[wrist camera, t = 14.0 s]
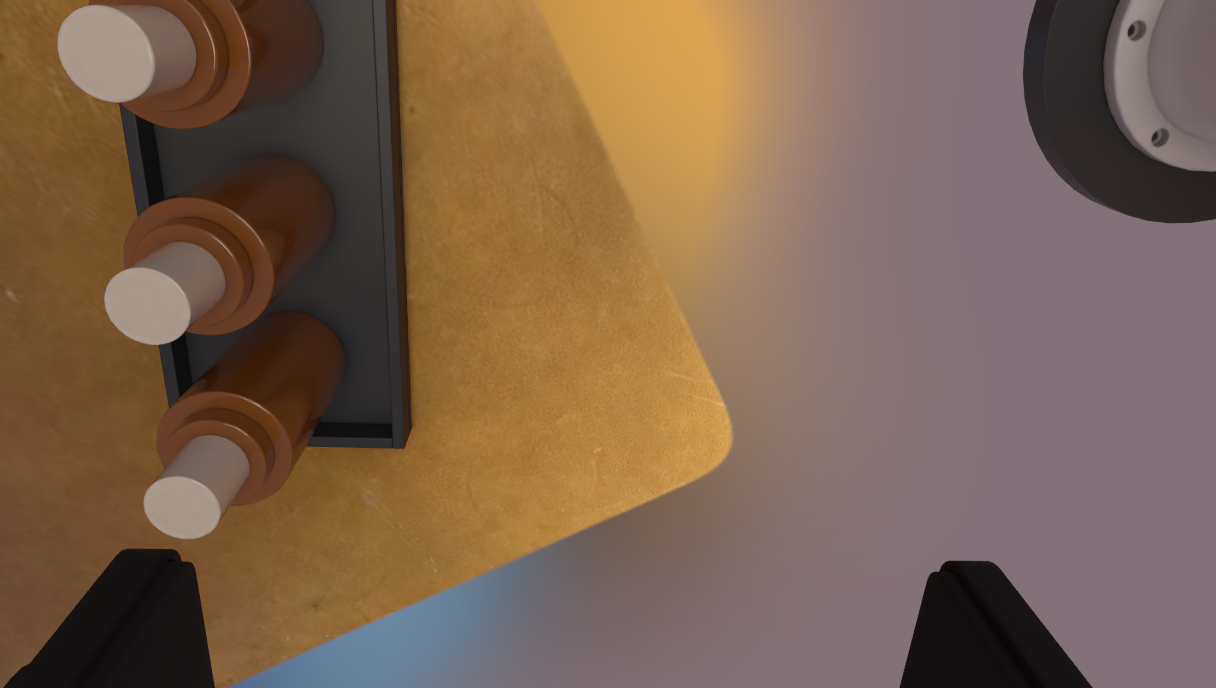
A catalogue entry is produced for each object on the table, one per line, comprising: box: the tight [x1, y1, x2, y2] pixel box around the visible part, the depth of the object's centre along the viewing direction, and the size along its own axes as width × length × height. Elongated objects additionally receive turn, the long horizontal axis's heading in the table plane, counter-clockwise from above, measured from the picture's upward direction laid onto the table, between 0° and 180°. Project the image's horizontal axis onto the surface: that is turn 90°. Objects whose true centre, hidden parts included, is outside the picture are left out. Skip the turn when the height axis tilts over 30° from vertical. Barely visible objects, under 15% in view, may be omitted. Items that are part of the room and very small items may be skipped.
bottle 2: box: [104, 154, 335, 345], centre depth 32 cm, size 5×5×13 cm
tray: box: [119, 0, 411, 449], centre depth 37 cm, size 11×23×2 cm, turn 177°
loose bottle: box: [144, 311, 346, 539], centre depth 35 cm, size 5×5×13 cm
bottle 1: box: [58, 0, 323, 129], centre depth 29 cm, size 5×5×13 cm
